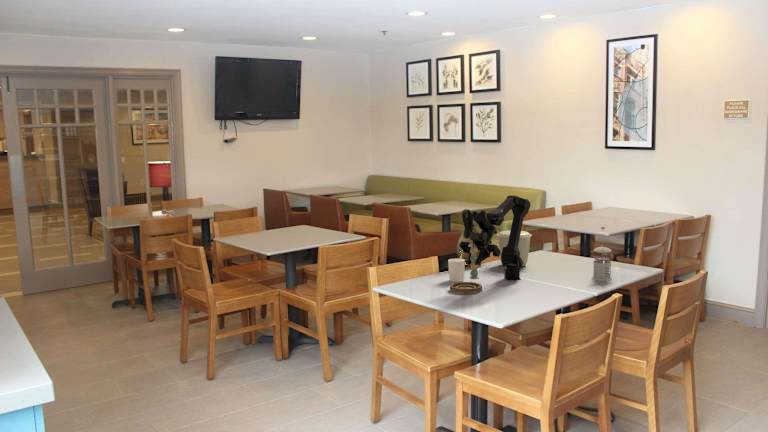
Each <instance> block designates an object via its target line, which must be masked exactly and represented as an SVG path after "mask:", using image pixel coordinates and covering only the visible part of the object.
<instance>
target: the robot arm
mask: <svg viewBox="0 0 768 432" xmlns="http://www.w3.org/2000/svg"><path fill="white" fill-rule="evenodd" d="M530 208H531V201H530V200H529V199H527V198H524V197H523V198H522V197H519V196H517V195H513V194H511V195H507V196H506V199H504V201H502V202H501V204H499V205H498V206H497V207H496V208H495V209H492V210H489V211H488V212H487V211H486V210H480V212H477V214H476V215H475V216H474V219H473V221H474V223H475V224H476V226H477V227H478V229H479V230H480V232H479V233H476V232H471V234H470V238H469V239H471V240H473V244H475V245H473V244H470V243H469V242H466V241H461V243H460V245H459V246H460V247H461V249H462V250H463V252H465V253H469V262H468V263H469V264H471V259H470V257H471V252H470V249H471V247H472V246H477V249H478V251H480V254H479V256H478V258H477V260H476V262H475V265H478V264H479V263H480V262H481V263H482V262H483V261H485V260H486V259H488V258H490V257H491V255H492V256H493V257H496V258H500V253H501V251H500V250H499V246H498V245H497V244H494V243H493V241H492V239H493V237H494V235H497V234H498V231H497V226H498V227H501V226H502V224H503V222H504V221H505V216H506V215H507V214H508V213H509V211H511V213H512V215H513V218H512V223H511V226H510V230H511V231H510V236H509V241H508V245H507V246H506V247H503V249H502V254H501V260H500V262H501V261H502V263H501V266H503V267H505V268H504V270H503V272H504V275H503V276H504V278H505V279H506V280H507V281H513V280H514V281H515V280H516V281H517V280H521V277H520V276H521V275H520V273H521V272H520V271H521V270H520V269H521V268H523V267H524V266H523V261H522V259H521V257H520V251H519V248H518V244H519V239H520V234H521V231H522V229H523V224H524V219H525V217H526V216H527V215H528V214H529V211H530ZM495 226H496V227H495ZM492 243H493V244H492ZM478 266H479V265H478Z"/></svg>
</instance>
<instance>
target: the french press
mask: <svg viewBox="0 0 768 432" xmlns="http://www.w3.org/2000/svg"><path fill="white" fill-rule="evenodd" d="M600 229H601V230H606V227H605V226H601V227H600ZM601 239H602V240H601V246H599V247H596V248H594V249H593V251H594V253H601V256H596V257H594V261H593V267H592V268H593V273H592V274H593V276H591V279H592V280H593V281H600V282H607V281H608V282H609V281H612V280H614V279H613V277H611V274H612V273H611V272H612V269H611V268H612V261H610V260H611V258H610V257H608V254H607V253H611V252H612V249H611V248H609V247H605V246H603V245H604V235H602V238H601Z"/></svg>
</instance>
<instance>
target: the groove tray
mask: <svg viewBox="0 0 768 432" xmlns="http://www.w3.org/2000/svg"><path fill="white" fill-rule="evenodd" d="M449 291H450V292H451V293H452V294H457V295H476V294H477V295H478V294H479V293H480V294H481V293H482V292H483V285H482V284H481V283H480V282H479V283H478V282H475V281H474V282H473V281H462V282H452V283H451V284H450V285H449Z"/></svg>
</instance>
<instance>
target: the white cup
mask: <svg viewBox="0 0 768 432" xmlns="http://www.w3.org/2000/svg"><path fill="white" fill-rule="evenodd" d="M447 260H448V261H447V263H448V274H449V281H450V282H452V283H457V282H465V269H466V268H465V267H466V265H465V260H464V259H460V258H459V257H458V258H450V259H447Z"/></svg>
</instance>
